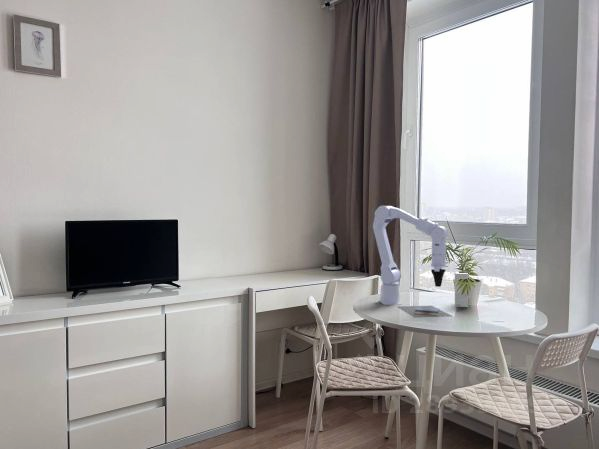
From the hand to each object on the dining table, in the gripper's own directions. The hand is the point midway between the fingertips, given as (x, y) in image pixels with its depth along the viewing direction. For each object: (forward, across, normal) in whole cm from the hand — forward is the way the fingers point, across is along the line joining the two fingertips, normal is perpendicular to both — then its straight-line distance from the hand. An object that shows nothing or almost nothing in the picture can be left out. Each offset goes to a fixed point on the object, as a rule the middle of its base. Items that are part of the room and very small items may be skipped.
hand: (438, 286), depth 196 cm
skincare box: (+10, +12, -9) cm, 18 cm away
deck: (+9, -7, +3) cm, 12 cm away
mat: (+10, -8, +5) cm, 13 cm away
